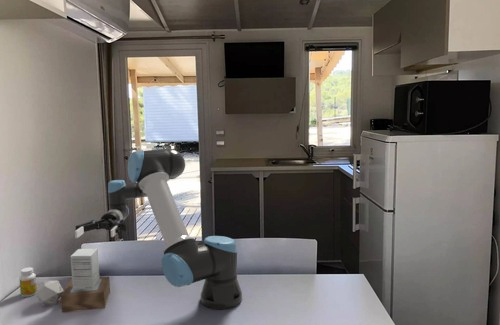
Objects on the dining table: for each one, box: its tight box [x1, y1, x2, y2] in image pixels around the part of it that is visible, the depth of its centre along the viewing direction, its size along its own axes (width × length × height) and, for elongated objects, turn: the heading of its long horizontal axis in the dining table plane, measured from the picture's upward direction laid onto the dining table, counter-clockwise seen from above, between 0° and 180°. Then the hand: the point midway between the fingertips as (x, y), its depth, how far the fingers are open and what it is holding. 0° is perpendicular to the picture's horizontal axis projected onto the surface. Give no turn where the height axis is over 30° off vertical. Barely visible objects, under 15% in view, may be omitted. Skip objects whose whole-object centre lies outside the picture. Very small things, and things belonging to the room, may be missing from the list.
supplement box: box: [70, 248, 101, 290], centre depth 140 cm, size 7×7×13 cm
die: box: [34, 280, 65, 305], centre depth 140 cm, size 8×9×10 cm
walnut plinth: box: [60, 276, 111, 313], centre depth 141 cm, size 14×13×6 cm
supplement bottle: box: [18, 266, 38, 298], centre depth 147 cm, size 5×5×10 cm
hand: (93, 234), depth 149 cm, fingers open, 13 cm apart
